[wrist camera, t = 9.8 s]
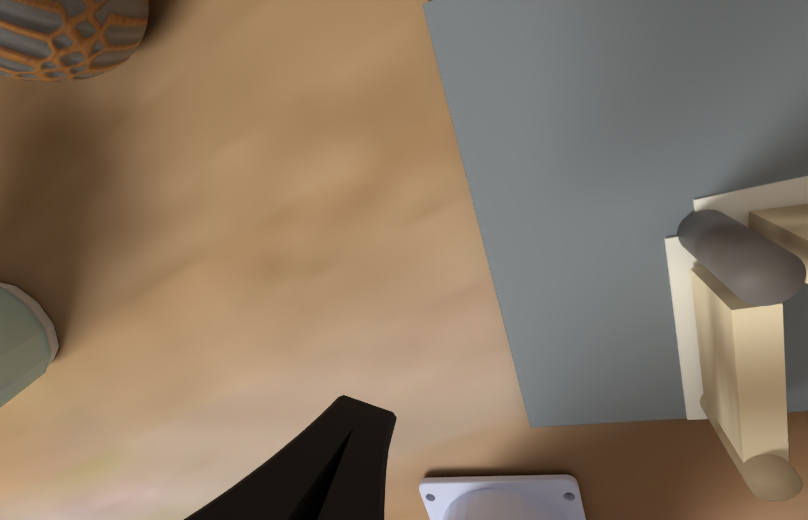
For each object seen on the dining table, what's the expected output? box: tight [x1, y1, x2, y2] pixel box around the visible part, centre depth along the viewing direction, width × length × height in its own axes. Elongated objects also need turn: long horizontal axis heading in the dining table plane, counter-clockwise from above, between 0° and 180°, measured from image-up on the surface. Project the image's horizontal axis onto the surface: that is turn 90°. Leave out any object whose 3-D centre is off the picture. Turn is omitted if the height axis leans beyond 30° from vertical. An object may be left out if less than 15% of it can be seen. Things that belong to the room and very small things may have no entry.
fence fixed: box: [677, 209, 806, 501], centre depth 14 cm, size 9×2×5 cm, turn 17°
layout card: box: [422, 0, 808, 428], centre depth 14 cm, size 18×19×1 cm
